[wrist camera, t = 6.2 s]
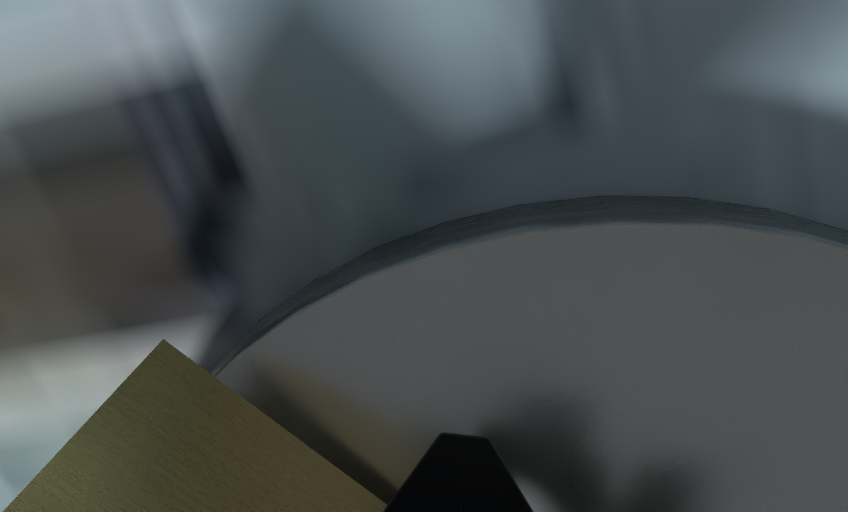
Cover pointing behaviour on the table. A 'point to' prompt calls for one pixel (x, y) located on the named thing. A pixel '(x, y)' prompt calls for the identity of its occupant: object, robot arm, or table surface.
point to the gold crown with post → (187, 454)
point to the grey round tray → (579, 356)
